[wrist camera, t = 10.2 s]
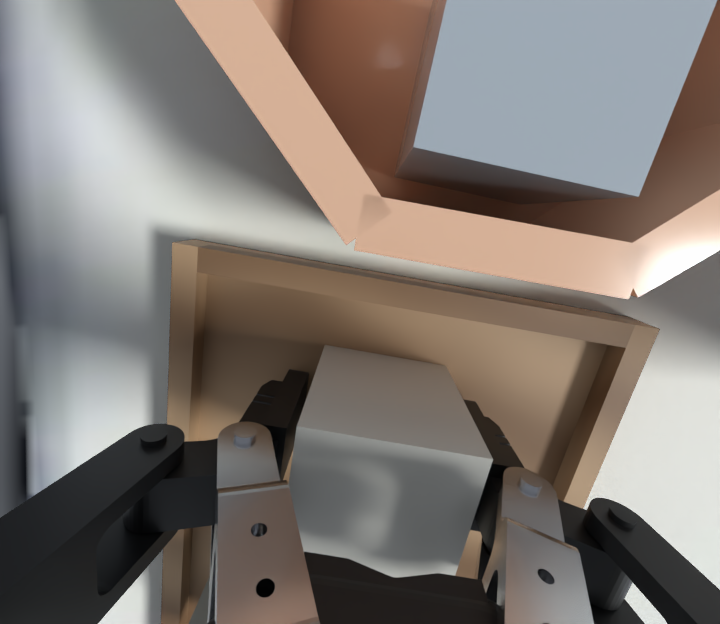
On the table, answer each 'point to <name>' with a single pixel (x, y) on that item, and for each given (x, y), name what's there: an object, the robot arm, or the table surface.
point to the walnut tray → (397, 339)
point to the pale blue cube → (547, 95)
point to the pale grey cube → (386, 464)
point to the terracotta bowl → (445, 206)
